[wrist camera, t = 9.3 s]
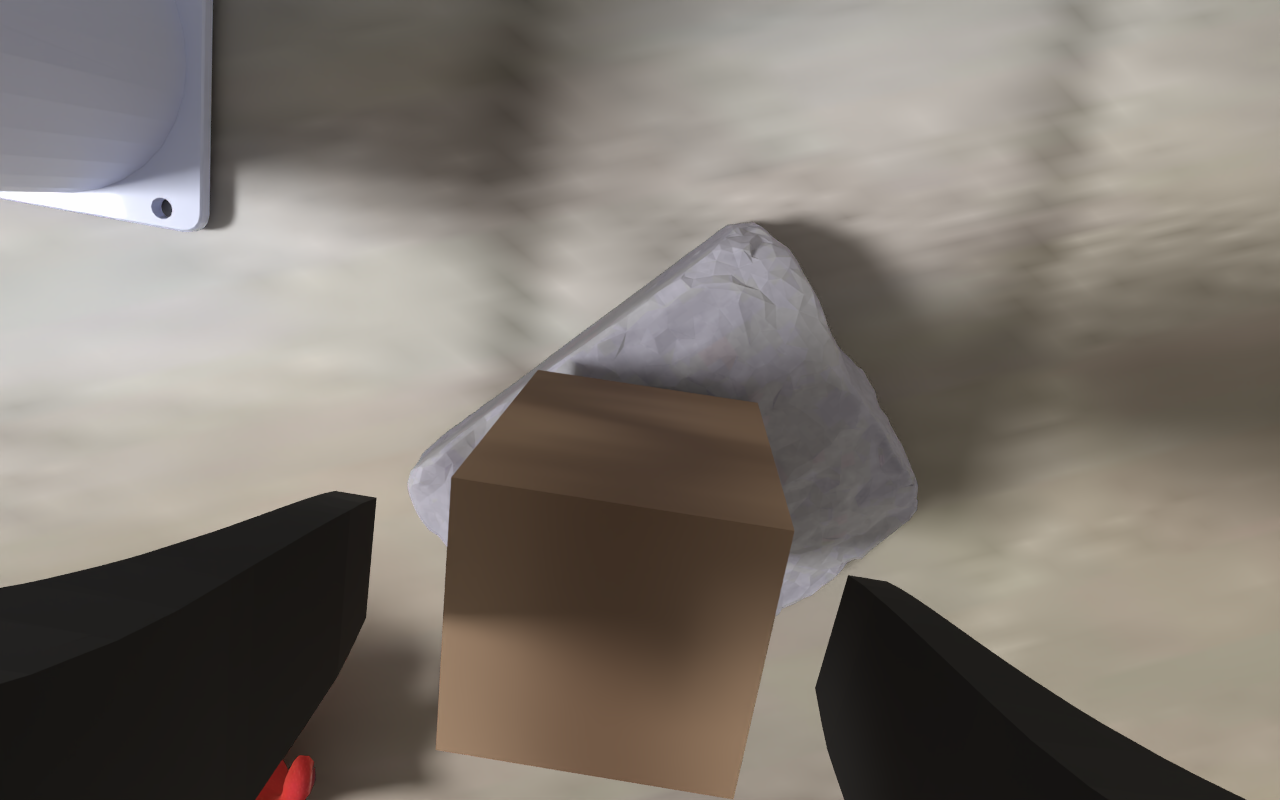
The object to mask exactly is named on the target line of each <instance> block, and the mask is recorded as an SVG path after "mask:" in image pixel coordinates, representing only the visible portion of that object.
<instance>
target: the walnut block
mask: <svg viewBox="0 0 1280 800" xmlns="http://www.w3.org/2000/svg"><path fill="white" fill-rule="evenodd" d="M793 535H794V527H793V524H792V520H791V517H790V513H789V510H788V506H787V503H786V499H785V496H784V492H783V489H782V485H781V482H780V479H779V475H778V472H777V468H776V465H775V461H774V458H773V454H772V451H771V447H770V444H769V440H768V437H767V433H766V430H765V426H764V423H763V419H762V416H761V412H760V409H759V406H758V403H755V402H749V401H742V400H735V399H729V398H722V397H715V396H709V395H702V394H696V393H689V392H682V391H676V390H669V389H662V388H656V387H649V386H643V385H636V384H629V383H623V382H616V381H609V380H603V379H596V378H590V377H583V376H576V375H570V374H563V373H556V372H550V371H543V370H537V372H536V373H535V374H534V375H533V376H532V378H531V379H530V380H529V381H528V383H527V384H526V385H525V386H524V388H523V389H522V390H521V391H520V393H519V394H518V395H517V396H516V398H515V399H514V400H513V401H512V403H511V404H510V405H509V406H508V408H507V409H506V410H505V411H504V412H503V414H502V415H501V416H500V417H499V419H498V420H497V421H496V422H495V424H494V425H493V426H492V427H491V429H490V430H489V431H488V432H487V434H486V435H485V436H484V437H483V439H482V440H481V441H480V442H479V443H478V445H477V446H476V447H475V448H474V450H473V451H472V452H471V453H470V455H469V456H468V457H467V458H466V460H465V461H464V462H463V463H462V465H461V466H460V467H459V468H458V470H457V471H456V472H455V473H454V475H453V476H452V477H451V489H450V507H449V525H448V542H447V560H446V577H445V595H444V612H443V630H442V648H441V665H440V683H439V700H438V718H437V735H436V750H440V751H446V752H452V753H458V754H464V755H470V756H476V757H482V758H488V759H494V760H500V761H506V762H512V763H518V764H524V765H530V766H536V767H542V768H548V769H554V770H560V771H566V772H572V773H578V774H584V775H590V776H596V777H602V778H608V779H614V780H620V781H626V782H632V783H638V784H644V785H650V786H656V787H662V788H668V789H674V790H680V791H686V792H692V793H698V794H704V795H710V796H716V797H722V798H728V799H733V798H734V794H735V790H736V785H737V781H738V776H739V772H740V768H741V763H742V759H743V754H744V750H745V746H746V741H747V737H748V733H749V728H750V724H751V719H752V715H753V711H754V706H755V702H756V698H757V693H758V689H759V684H760V680H761V676H762V671H763V667H764V662H765V658H766V654H767V649H768V645H769V641H770V636H771V632H772V627H773V623H774V619H775V614H776V610H777V606H778V601H779V597H780V592H781V588H782V584H783V579H784V575H785V570H786V566H787V562H788V557H789V553H790V549H791V544H792V540H793Z"/></svg>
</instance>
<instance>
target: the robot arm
mask: <svg viewBox="0 0 1280 800" xmlns="http://www.w3.org/2000/svg"><path fill="white" fill-rule="evenodd" d="M212 27H213V0H0V199H4V200H10V201H15V202H21V203H26V204H32V205H37V206H43V207H48V208H54V209H60V210H65V211H71V212H76V213H82V214H87V215H93V216H99V217H104V218H110V219H115V220H121V221H126V222H132V223H137V224H143V225H149V226H154V227H160V228H165V229H171V230H176V231H182V232H190V231H198V230H201V229H203V228H204V227H205V226H206V224H207V223H208V220H209V215H210V152H211V90H212ZM165 199H166V200H168V202H169V203H170V204H171V206H172V214H171V216H170V217H167V216H166V215H165V214H164V213H163V212H162V208H161V205H162V202H163V201H164V200H165ZM375 508H376V498H374V497H368V496H362V495H356V494H350V493H344V492H338V491H333V492H329V493H324V494H320V495H317V496H314V497H311V498H308V499H305V500H302V501H299V502H296V503H293V504H290V505H287V506H285V507H282V508H279V509H276V510H273V511H271V512H268V513H265V514H262V515H260V516H257V517H254V518H251V519H248V520H246V521H243V522H240V523H237V524H234V525H232V526H229V527H226V528H223V529H220V530H217V531H214V532H211V533H208V534H205V535H202V536H199V537H196V538H193V539H189V540H186V541H183V542H180V543H177V544H174V545H171V546H167V547H164V548H161V549H158V550H155V551H152V552H149V553H145V554H142V555H139V556H135V557H132V558H128V559H125V560H121V561H117V562H113V563H110V564H106V565H102V566H98V567H94V568H90V569H86V570H82V571H78V572H73V573H69V574H65V575H61V576H56V577H52V578H48V579H44V580H39V581H34V582H29V583H25V584H19V585H14V586H8V587H3V588H0V800H255V799H256V798H257V797H258V795H259V794H260V792H261V791H262V789H263V788H264V786H265V785H266V783H267V782H268V780H269V779H270V777H271V776H272V774H273V773H274V771H275V770H276V768H277V767H278V765H279V764H280V762H281V761H282V759H283V758H284V756H285V755H286V753H287V752H288V750H289V749H290V747H291V746H292V744H293V743H294V741H295V740H296V738H297V737H298V736H299V734H300V733H301V731H302V730H303V728H304V727H305V725H306V724H307V722H308V721H309V719H310V718H311V716H312V715H313V713H314V712H315V710H316V708H317V707H318V705H319V704H320V702H321V701H322V699H323V698H324V696H325V695H326V693H327V692H328V690H329V689H330V687H331V686H332V684H333V683H334V681H335V679H336V678H337V676H338V674H339V672H340V670H341V668H342V666H343V664H344V662H345V660H346V658H347V657H348V655H349V653H350V651H351V648H352V646H353V644H354V642H355V640H356V638H357V636H358V634H359V632H360V629H361V627H362V625H363V623H364V621H365V619H366V610H367V599H368V587H369V576H370V565H371V554H372V542H373V531H374V520H375ZM815 689H816V695H817V700H818V706H819V711H820V717H821V722H822V727H823V731H824V736H825V740H826V745H827V750H828V753H829V756H830V759H831V762H832V765H833V768H834V771H835V774H836V777H837V780H838V783H839V786H840V789H841V791H842V794H843V797H844V800H1246V799H1244V798H1242V797H1240V796H1238V795H1236V794H1233V793H1231V792H1229V791H1227V790H1225V789H1223V788H1221V787H1219V786H1217V785H1215V784H1213V783H1211V782H1209V781H1207V780H1205V779H1203V778H1201V777H1199V776H1197V775H1195V774H1193V773H1191V772H1189V771H1187V770H1185V769H1183V768H1181V767H1180V766H1178V765H1176V764H1174V763H1172V762H1170V761H1168V760H1166V759H1164V758H1162V757H1161V756H1159V755H1157V754H1155V753H1153V752H1152V751H1150V750H1148V749H1146V748H1145V747H1143V746H1141V745H1139V744H1137V743H1136V742H1134V741H1132V740H1130V739H1129V738H1127V737H1125V736H1123V735H1122V734H1120V733H1118V732H1116V731H1114V730H1113V729H1111V728H1109V727H1107V726H1106V725H1104V724H1102V723H1100V722H1099V721H1097V720H1096V719H1094V718H1092V717H1091V716H1089V715H1087V714H1086V713H1084V712H1082V711H1081V710H1079V709H1077V708H1076V707H1074V706H1073V705H1071V704H1069V703H1068V702H1066V701H1065V700H1063V699H1062V698H1060V697H1059V696H1057V695H1056V694H1054V693H1052V692H1051V691H1049V690H1048V689H1046V688H1045V687H1043V686H1042V685H1040V684H1039V683H1037V682H1035V681H1034V680H1032V679H1031V678H1029V677H1028V676H1026V675H1025V674H1023V673H1022V672H1020V671H1019V670H1018V669H1016V668H1015V667H1013V666H1012V665H1010V664H1009V663H1007V662H1006V661H1004V660H1003V659H1001V658H1000V657H999V656H997V655H996V654H994V653H993V652H991V651H990V650H989V649H987V648H986V647H984V646H983V645H981V644H980V643H979V642H977V641H976V640H974V639H973V638H972V637H970V636H969V635H967V634H966V633H965V632H963V631H962V630H960V629H959V628H957V627H956V626H955V625H953V624H952V623H950V622H949V621H948V620H946V619H945V618H943V617H942V616H941V615H939V614H938V613H936V612H935V611H933V610H932V609H931V608H929V607H928V606H926V605H925V604H923V603H922V602H920V601H919V600H917V599H916V598H914V597H913V596H911V595H910V594H908V593H907V592H905V591H903V590H902V589H900V588H898V587H896V586H894V585H893V584H891V583H889V582H886V581H880V580H874V579H868V578H862V577H856V576H850V575H848V578H847V581H846V585H845V588H844V592H843V595H842V598H841V602H840V605H839V609H838V612H837V615H836V619H835V622H834V626H833V629H832V633H831V636H830V639H829V643H828V646H827V650H826V653H825V656H824V660H823V663H822V667H821V670H820V674H819V677H818V680H817V684H816V687H815Z"/></svg>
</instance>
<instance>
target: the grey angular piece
mask: <svg viewBox="0 0 1280 800" xmlns="http://www.w3.org/2000/svg"><path fill="white" fill-rule="evenodd" d="M537 370H543V371H550V372H556V373H563V374H570V375H576V376H583V377H590V378H596V379H603V380H609V381H616V382H623V383H629V384H636V385H643V386H649V387H656V388H662V389H669V390H676V391H682V392H689V393H696V394H702V395H709V396H715V397H722V398H729V399H735V400H742V401H749V402H755V403H758V406H759V409H760V412H761V416H762V419H763V423H764V426H765V430H766V433H767V437H768V440H769V444H770V447H771V451H772V454H773V458H774V461H775V465H776V468H777V472H778V475H779V479H780V482H781V485H782V489H783V492H784V496H785V499H786V503H787V506H788V510H789V513H790V517H791V520H792V524H793V527H794V535H793V540H792V544H791V549H790V553H789V557H788V562H787V566H786V570H785V575H784V579H783V584H782V588H781V592H780V597H779V601H778V606H777V610H776V614H775V616H777V615H778V614H779V613H780V611H781V609H782V608H784V607H787V606H790V605H792V604H795V603H796V602H798V601H800V600H802V599H803V598H805V597H808V596H811V595H812V594H813V593H815V592H816V591H817V590H818V589H819V588H820V587H822V586H823V585H824V584H826V583H828V582H829V581H831V580H832V579H833V578H834V577H835V576H837V575H838V573H839V572H840V571H841V570H842V569H843V568H844V566H845V565H846V563H847V562H849V561H851V560H854V559H861V558H863V557H864V556H865V555H866V554H867V553H868V552H869V551H870V550H871V549H873V548H874V547H875V546H876V545H878V544H879V543H880V542H882V541H883V540H884V539H885V538H887V537H888V536H889V535H891V534H892V533H893V532H894V531H896V530H897V529H898V528H899V527H901V526H902V525H903V524H904V523H906V522H907V521H909V520H910V518H911V517H912V515H913V514H914V513H915V512H916V511H917V504H918V500H917V492H918V484H917V481H916V478H915V475H914V472H913V470H912V469H911V464H910V463H909V460H908V458H907V455H906V453H905V450H904V448H903V446H902V444H901V442H900V440H899V439H898V437H897V435H896V433H895V432H894V430H893V428H892V427H891V425H890V422H889V419H888V417H887V416H886V414H885V413H884V412H883V411H882V410H881V408H880V407H879V404H878V401H877V397H876V392H875V390H874V388H873V387H872V385H871V384H870V382H869V381H868V379H867V377H866V374H865V372H864V371H863V370H862V369H861V368H859V367H857V366H856V365H855V363H854V362H853V361H852V360H851V359H850V358H849V357H848V356H847V355H846V354H845V353H844V352H843V351H842V350H841V349H840V348H839V347H838V345H837V343H836V340H835V338H834V337H833V336H832V334H831V331H830V329H829V327H828V325H827V321H826V318H825V315H824V312H823V309H822V307H821V304H820V301H819V299H818V297H817V296H816V294H815V292H814V290H813V288H812V287H811V285H810V283H809V282H808V280H807V278H806V276H805V274H804V273H803V271H802V269H801V267H800V264H799V262H798V261H797V259H796V258H795V256H794V255H793V254H792V252H791V251H790V249H789V248H788V247H786V246H785V245H783V244H782V243H780V242H779V241H778V240H776V239H775V238H774V237H773V236H771V235H770V234H769V233H768V232H767V231H766V230H765V229H764V228H763V227H761V226H760V225H758V224H756V223H754V222H752V223H739V224H730V225H727V226H725V227H724V228H722V229H720V230H719V231H718V232H716V233H715V234H714V235H713V236H711V237H710V238H709V239H708V240H706V241H705V242H703V243H702V244H701V245H699V246H698V247H697V248H695V249H694V250H692V251H691V252H690V253H688V254H687V255H685V256H684V257H683V258H681V259H680V260H679V261H677V262H676V263H675V264H674V265H672V266H671V267H670V268H668V269H667V270H666V271H664V272H663V273H662V274H660V275H659V276H658V277H656V278H655V279H654V280H652V281H651V282H650V283H648V284H647V285H646V286H644V287H643V288H641V289H640V290H639V291H637V292H636V293H635V294H633V295H632V296H631V297H629V298H628V299H627V300H625V301H624V302H623V303H621V304H620V305H618V306H617V307H616V308H614V309H613V310H612V311H610V312H609V313H608V314H606V315H605V316H604V317H602V318H601V319H599V320H598V321H597V322H595V323H594V324H593V325H591V326H590V327H589V328H587V329H586V330H584V331H583V332H582V333H580V334H579V335H578V336H576V337H575V338H574V339H572V340H571V341H570V342H568V343H567V344H566V345H565V346H563V347H562V348H561V349H559V350H558V351H556V352H555V353H554V354H552V355H551V356H549V357H548V358H547V359H546V360H544V361H543V362H542V363H541V364H539V365H538V366H537V367H536V368H534V369H533V370H532V371H530V372H529V373H527V374H526V375H525V376H523V377H522V378H521V379H519V380H518V381H517V382H515V383H514V384H512V385H511V386H510V387H508V388H507V389H506V390H504V391H503V392H502V393H500V394H499V395H497V396H496V397H495V398H493V399H492V400H490V401H489V402H487V403H486V404H484V405H483V406H482V407H481V408H479V409H478V410H477V411H476V412H474V413H473V414H471V415H469V416H468V417H467V418H465V419H464V420H463V421H462V422H460V423H459V424H458V425H456V426H454V427H453V428H452V429H450V430H449V431H447V432H446V433H445V434H444V435H443V436H442V437H440V438H439V439H438V440H437V441H436V442H435V443H434V444H433V445H431V446H430V447H429V448H428V449H427V450H426V451H425V452H424V453H423V454H422V456H421V458H420V460H419V462H418V463H417V464H416V465H415V467H414V468H413V469H412V470H411V472H410V476H409V479H408V483H407V484H408V492H409V495H410V498H411V501H412V503H413V505H414V508H415V510H416V512H417V514H418V516H419V517H420V519H421V521H422V522H423V523H424V524H425V526H426V527H427V528H428V529H429V530H430V531H432V532H433V533H435V534H436V535H438V536H439V537H440V539H441V540H442V541H443V542H444V543H445V545H446V546H447V542H448V525H449V507H450V489H451V477H452V476H453V475H454V473H455V472H456V471H457V470H458V468H459V467H460V466H461V465H462V463H463V462H464V461H465V460H466V458H467V457H468V456H469V455H470V453H471V452H472V451H473V450H474V448H475V447H476V446H477V445H478V443H479V442H480V441H481V440H482V439H483V437H484V436H485V435H486V434H487V432H488V431H489V430H490V429H491V427H492V426H493V425H494V424H495V422H496V421H497V420H498V419H499V417H500V416H501V415H502V414H503V412H504V411H505V410H506V409H507V408H508V406H509V405H510V404H511V403H512V401H513V400H514V399H515V398H516V396H517V395H518V394H519V393H520V391H521V390H522V389H523V388H524V386H525V385H526V384H527V383H528V381H529V380H530V379H531V378H532V376H533V375H534V374H535V373H536V372H537Z"/></svg>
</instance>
